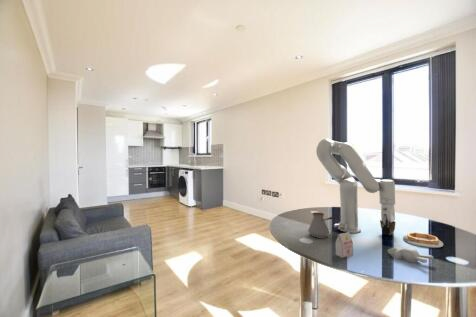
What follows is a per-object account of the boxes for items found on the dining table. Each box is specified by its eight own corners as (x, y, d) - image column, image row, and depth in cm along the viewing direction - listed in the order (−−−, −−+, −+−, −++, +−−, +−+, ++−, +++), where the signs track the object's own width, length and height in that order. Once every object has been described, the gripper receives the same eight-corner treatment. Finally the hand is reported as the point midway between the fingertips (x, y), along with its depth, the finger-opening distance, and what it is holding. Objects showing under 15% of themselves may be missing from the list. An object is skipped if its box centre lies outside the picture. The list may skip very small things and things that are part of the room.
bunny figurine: (394, 243, 105) (434, 250, 92) (396, 254, 104) (436, 263, 91) (383, 247, 100) (423, 255, 87) (385, 259, 100) (425, 269, 87)
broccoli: (391, 237, 123) (390, 223, 123) (377, 233, 130) (377, 220, 130) (398, 235, 126) (398, 221, 126) (385, 231, 133) (384, 218, 133)
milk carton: (335, 254, 102) (335, 233, 102) (346, 252, 105) (345, 231, 105) (342, 258, 99) (341, 235, 99) (353, 255, 102) (352, 233, 102)
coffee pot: (303, 234, 130) (303, 209, 130) (318, 231, 136) (317, 207, 136) (334, 247, 111) (333, 217, 111) (349, 242, 116) (349, 214, 117)
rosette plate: (425, 249, 106) (425, 243, 106) (395, 238, 122) (395, 232, 122) (452, 246, 109) (451, 240, 109) (419, 235, 125) (419, 230, 125)
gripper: (391, 204, 119) (392, 237, 119) (398, 199, 131) (399, 230, 131) (375, 202, 125) (376, 234, 125) (383, 198, 137) (384, 227, 137)
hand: (388, 231), depth 128 cm, fingers closed on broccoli, 6 cm apart
